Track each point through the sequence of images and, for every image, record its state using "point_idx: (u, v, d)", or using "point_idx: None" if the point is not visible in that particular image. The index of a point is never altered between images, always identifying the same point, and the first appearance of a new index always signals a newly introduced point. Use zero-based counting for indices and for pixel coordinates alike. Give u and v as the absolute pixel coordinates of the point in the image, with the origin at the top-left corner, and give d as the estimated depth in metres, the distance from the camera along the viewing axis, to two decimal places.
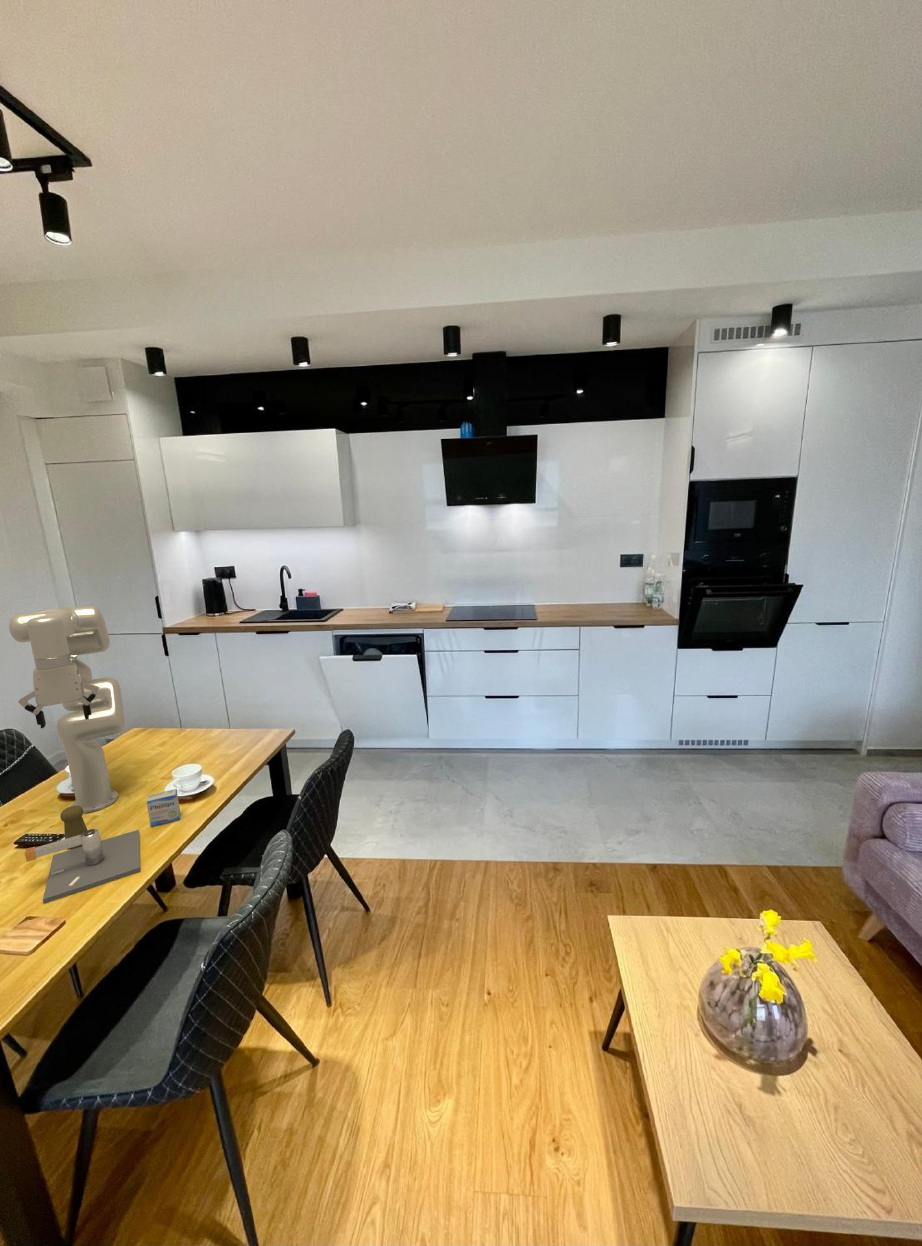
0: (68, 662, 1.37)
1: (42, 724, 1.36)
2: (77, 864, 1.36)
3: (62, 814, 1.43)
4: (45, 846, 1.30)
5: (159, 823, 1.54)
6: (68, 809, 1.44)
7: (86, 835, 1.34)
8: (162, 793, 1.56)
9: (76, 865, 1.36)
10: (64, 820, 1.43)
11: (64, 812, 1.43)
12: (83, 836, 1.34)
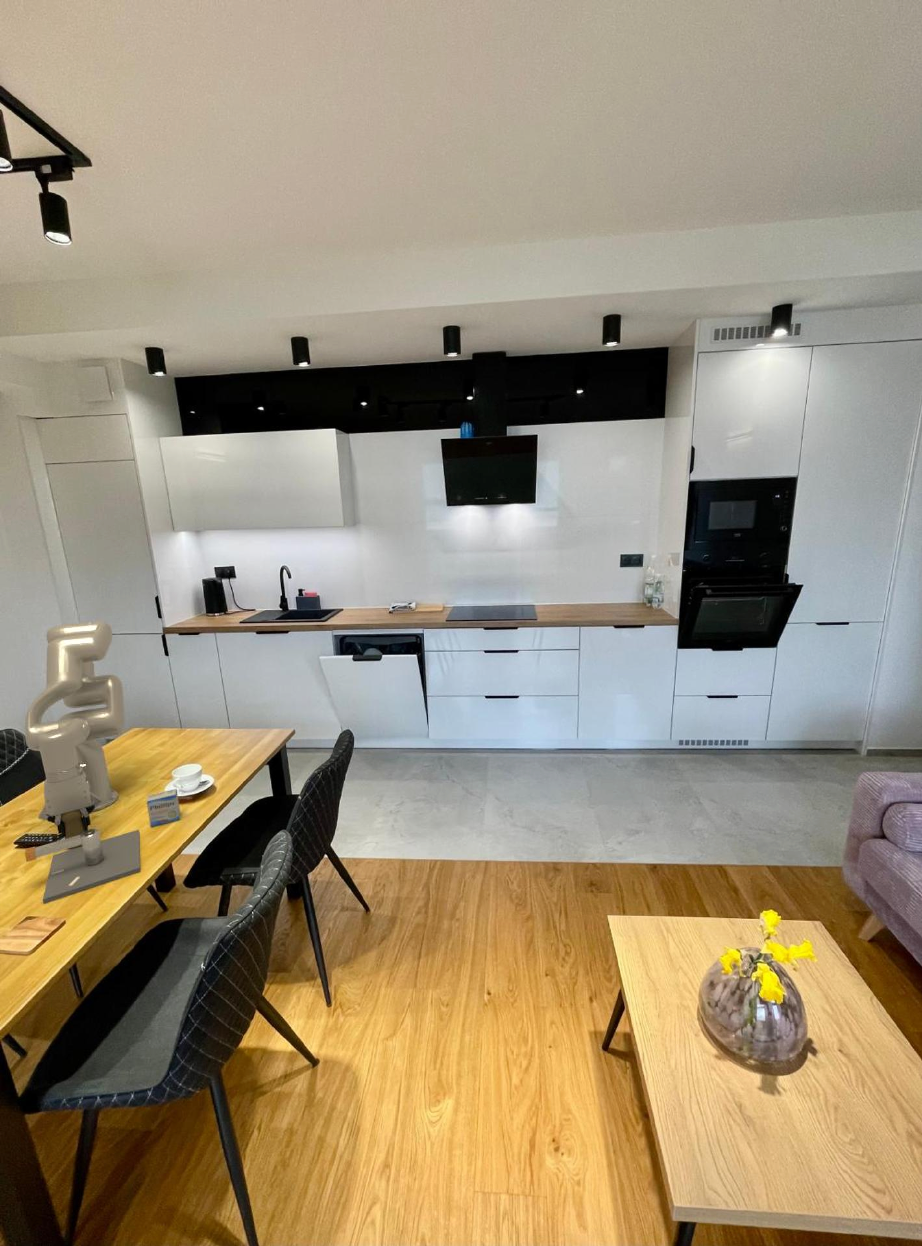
0: (77, 773, 1.43)
1: (63, 833, 1.44)
2: (77, 864, 1.36)
3: (62, 814, 1.43)
4: (45, 846, 1.30)
5: (159, 823, 1.54)
6: None
7: (86, 835, 1.34)
8: (162, 793, 1.56)
9: (76, 865, 1.36)
10: (64, 820, 1.43)
11: None
12: (83, 836, 1.34)
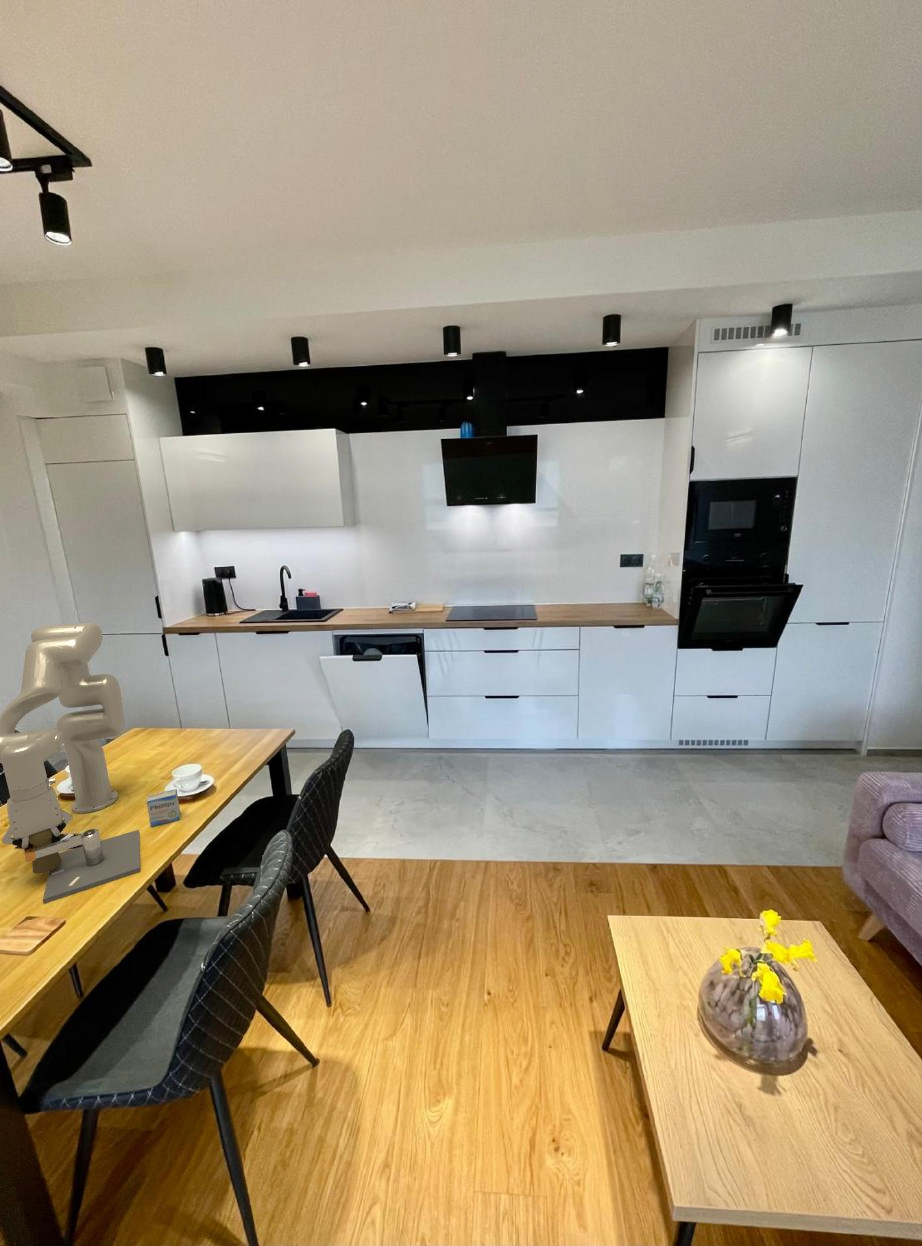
0: (47, 788, 1.30)
1: None
2: (77, 864, 1.36)
3: (30, 836, 1.29)
4: (45, 847, 1.30)
5: (159, 823, 1.54)
6: None
7: (86, 835, 1.34)
8: (162, 793, 1.56)
9: (76, 865, 1.36)
10: (33, 842, 1.29)
11: None
12: (83, 836, 1.34)
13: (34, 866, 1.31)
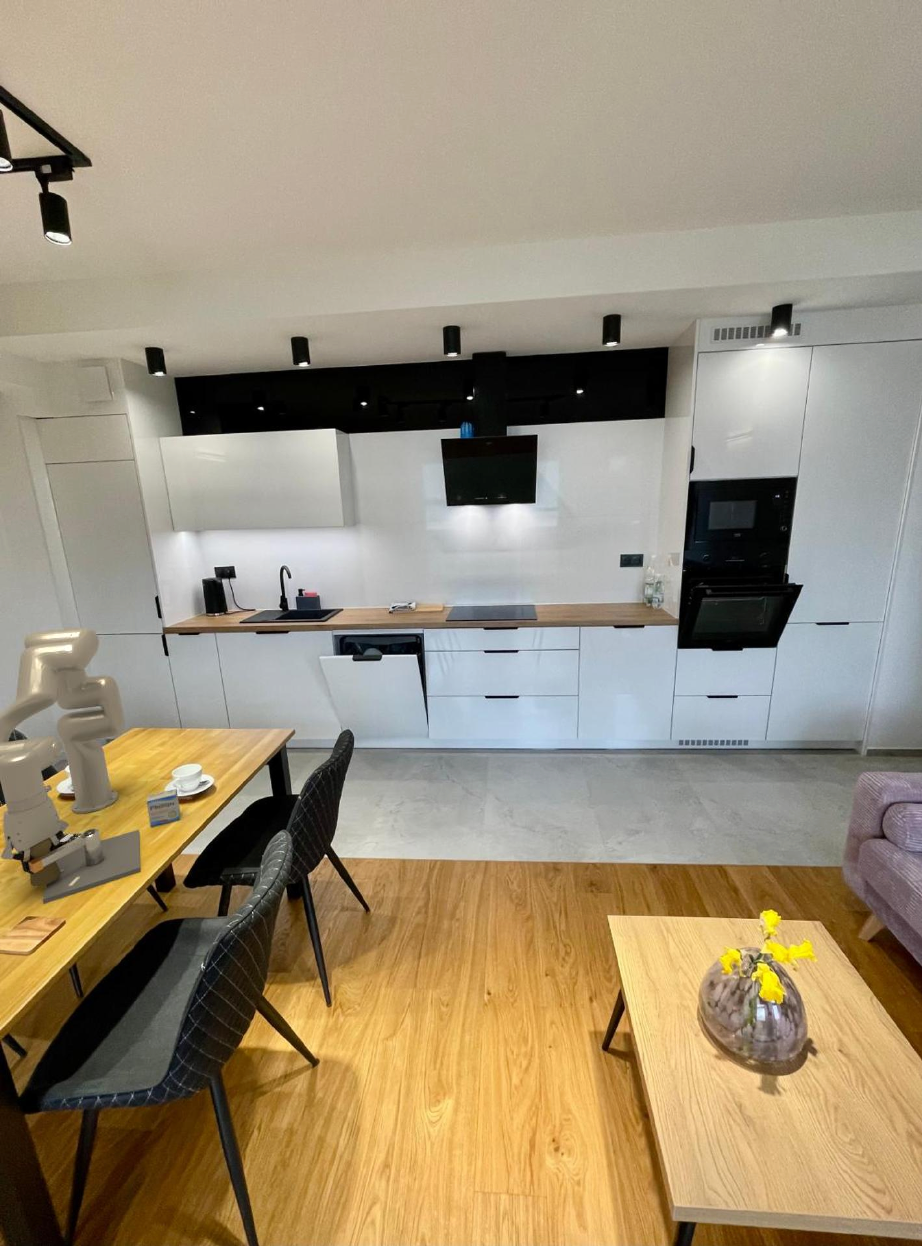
0: (46, 795, 1.27)
1: None
2: (77, 864, 1.36)
3: (31, 847, 1.25)
4: (49, 854, 1.27)
5: (159, 823, 1.54)
6: None
7: (89, 834, 1.34)
8: (162, 793, 1.56)
9: (76, 865, 1.36)
10: (35, 853, 1.25)
11: None
12: (85, 836, 1.34)
13: (36, 879, 1.26)
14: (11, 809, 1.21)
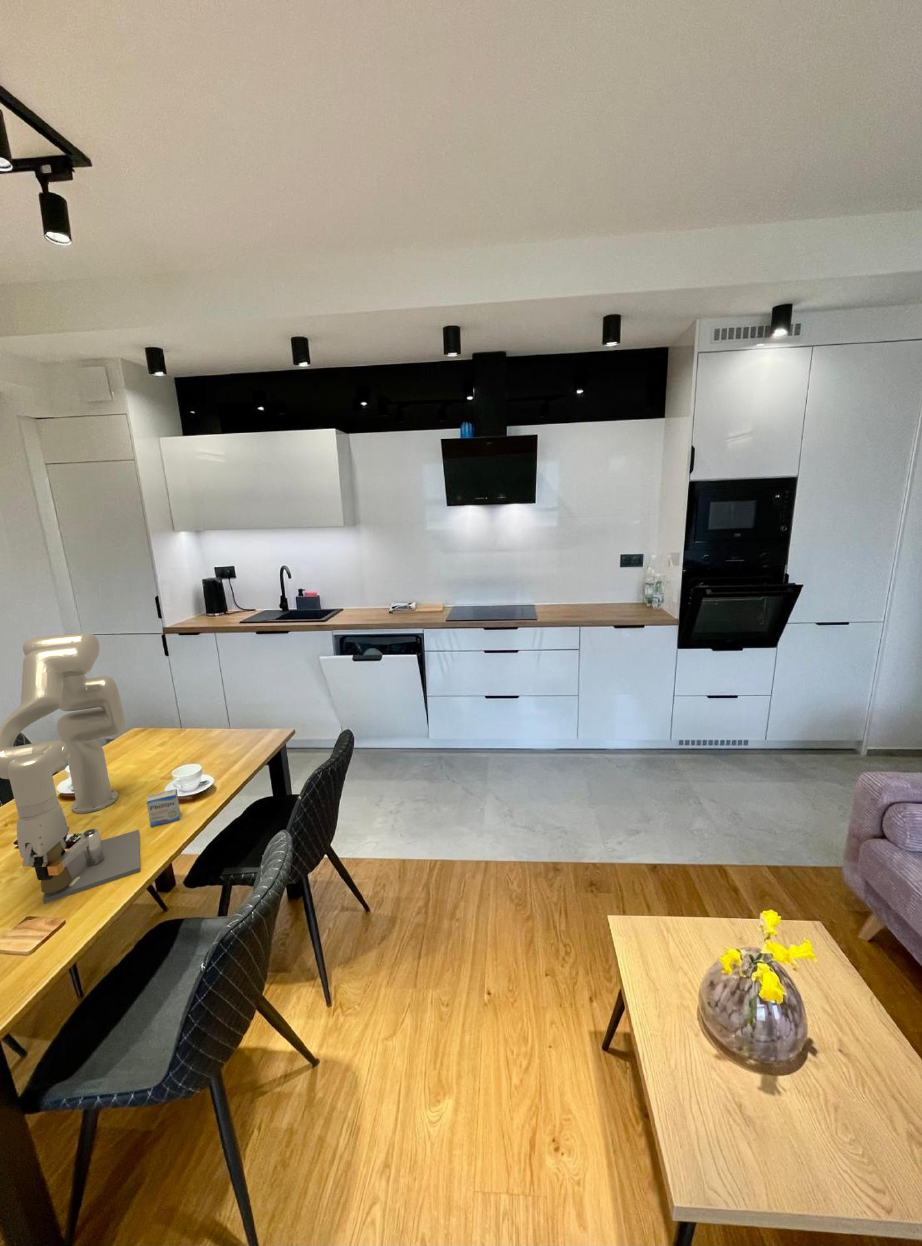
0: None
1: None
2: (77, 864, 1.36)
3: (47, 852, 1.23)
4: (64, 856, 1.26)
5: (159, 823, 1.54)
6: None
7: (92, 833, 1.35)
8: (162, 793, 1.56)
9: (76, 865, 1.36)
10: (53, 857, 1.24)
11: None
12: (88, 836, 1.34)
13: (53, 884, 1.24)
14: (30, 814, 1.19)
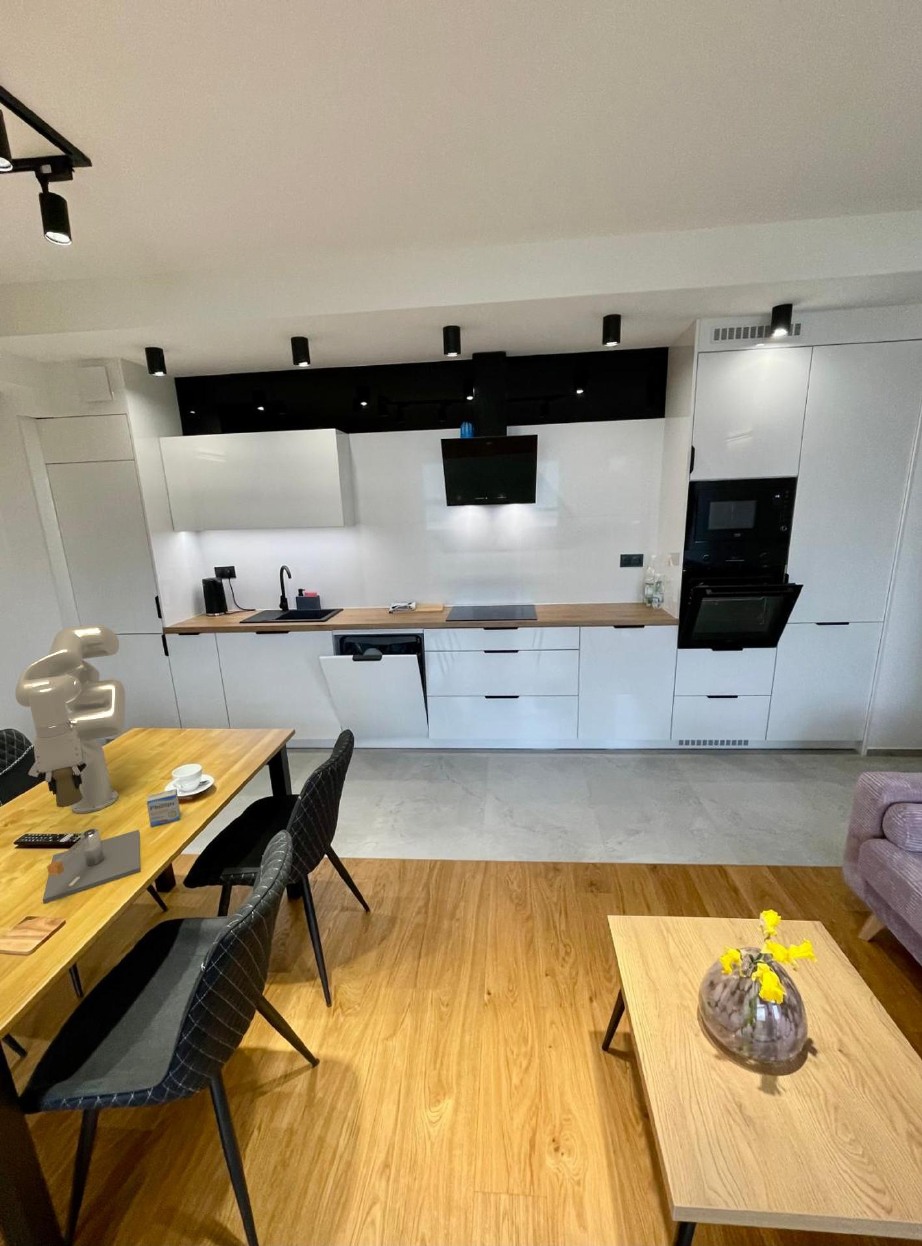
0: (68, 729, 1.40)
1: (54, 791, 1.41)
2: (77, 864, 1.36)
3: (53, 771, 1.40)
4: (64, 856, 1.26)
5: (159, 823, 1.54)
6: None
7: (92, 833, 1.35)
8: (162, 793, 1.56)
9: (76, 865, 1.36)
10: (55, 777, 1.40)
11: None
12: (88, 836, 1.34)
13: (57, 799, 1.42)
14: (36, 733, 1.37)
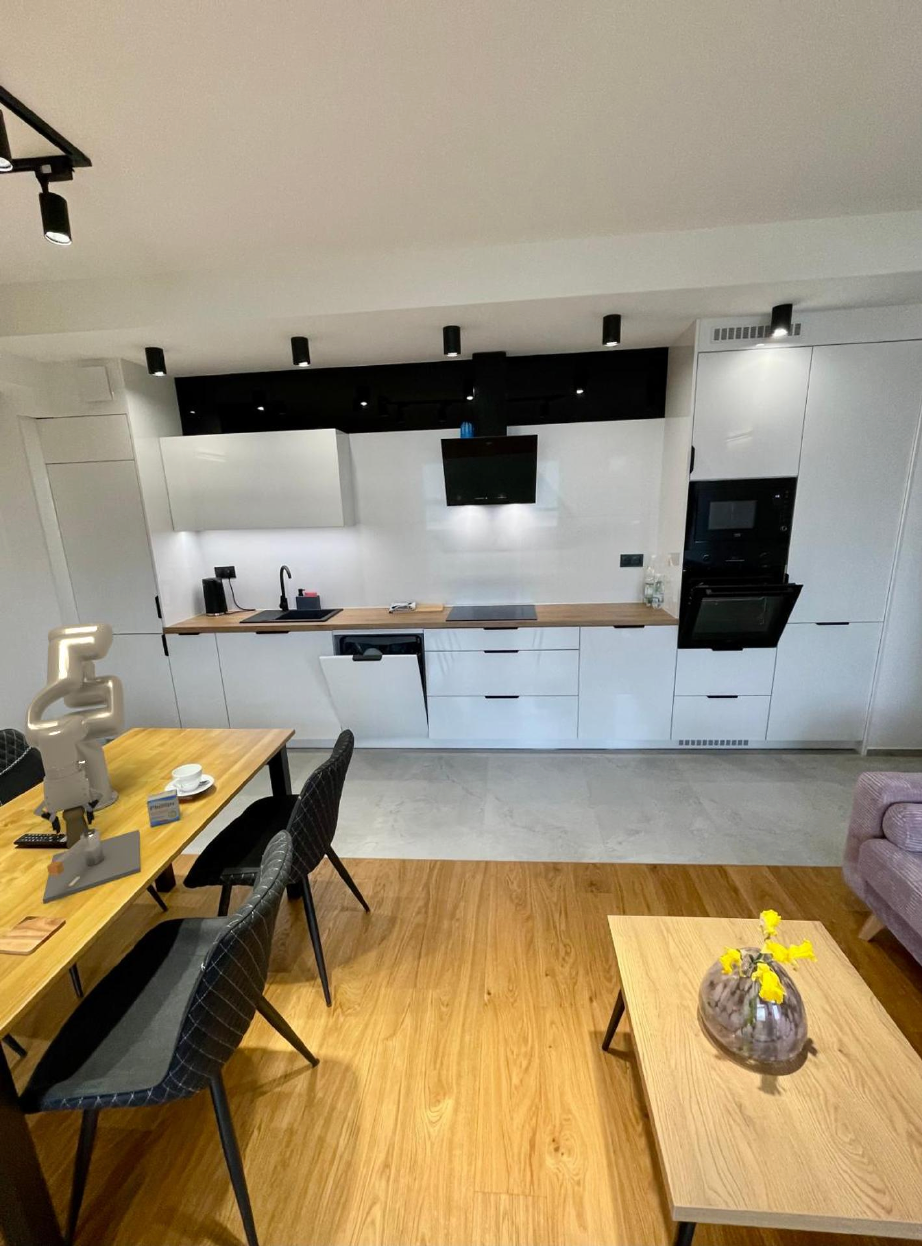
0: (77, 769, 1.43)
1: (57, 830, 1.43)
2: (77, 864, 1.36)
3: (64, 813, 1.43)
4: (64, 856, 1.26)
5: (159, 823, 1.54)
6: (70, 808, 1.45)
7: (92, 833, 1.35)
8: (162, 793, 1.56)
9: (76, 865, 1.36)
10: (66, 819, 1.43)
11: (66, 811, 1.44)
12: (88, 836, 1.34)
13: (67, 841, 1.45)
14: None
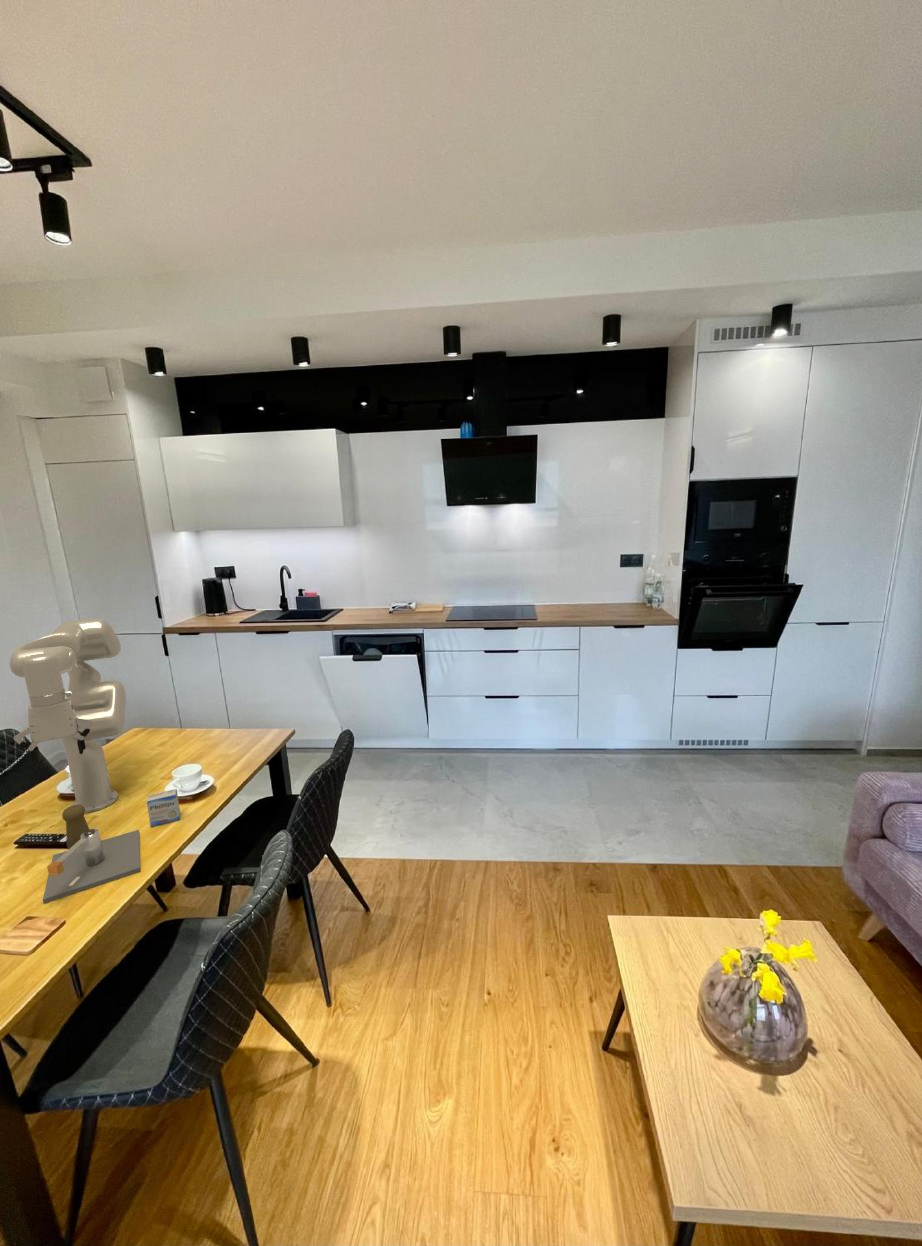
0: (63, 699, 1.39)
1: (37, 760, 1.39)
2: (77, 864, 1.36)
3: (64, 813, 1.43)
4: (64, 856, 1.26)
5: (159, 823, 1.54)
6: (70, 808, 1.45)
7: (92, 833, 1.35)
8: (162, 793, 1.56)
9: (76, 865, 1.36)
10: (66, 819, 1.43)
11: (66, 811, 1.44)
12: (88, 836, 1.34)
13: (67, 841, 1.45)
14: None
